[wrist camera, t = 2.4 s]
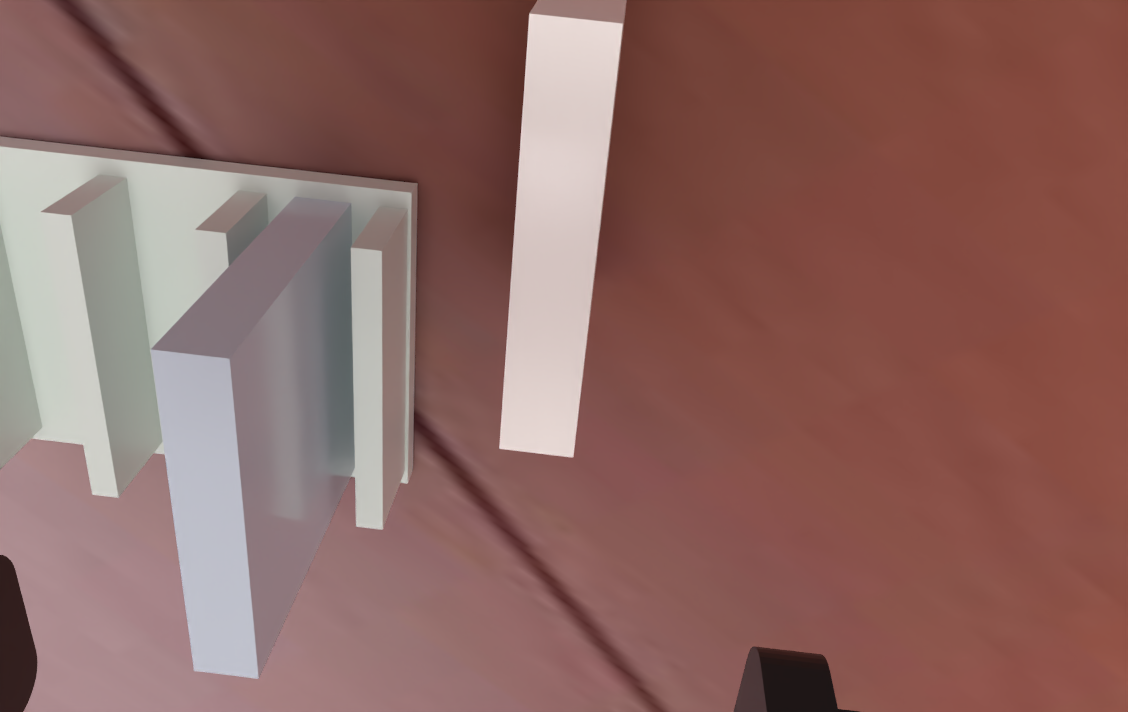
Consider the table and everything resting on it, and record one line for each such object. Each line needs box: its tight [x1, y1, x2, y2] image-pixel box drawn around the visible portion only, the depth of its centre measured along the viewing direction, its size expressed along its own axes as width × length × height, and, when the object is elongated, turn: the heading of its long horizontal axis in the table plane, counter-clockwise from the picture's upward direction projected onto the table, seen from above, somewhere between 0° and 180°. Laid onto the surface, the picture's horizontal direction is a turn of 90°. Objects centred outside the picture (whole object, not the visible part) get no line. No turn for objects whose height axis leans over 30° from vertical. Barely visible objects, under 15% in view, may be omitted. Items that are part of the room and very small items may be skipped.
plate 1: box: [151, 197, 355, 679], centre depth 25 cm, size 2×9×9 cm, turn 175°
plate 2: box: [499, 0, 627, 457], centre depth 23 cm, size 2×9×9 cm, turn 176°
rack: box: [0, 136, 418, 530], centre depth 28 cm, size 10×13×4 cm
